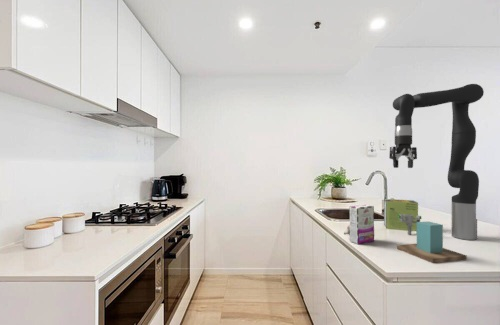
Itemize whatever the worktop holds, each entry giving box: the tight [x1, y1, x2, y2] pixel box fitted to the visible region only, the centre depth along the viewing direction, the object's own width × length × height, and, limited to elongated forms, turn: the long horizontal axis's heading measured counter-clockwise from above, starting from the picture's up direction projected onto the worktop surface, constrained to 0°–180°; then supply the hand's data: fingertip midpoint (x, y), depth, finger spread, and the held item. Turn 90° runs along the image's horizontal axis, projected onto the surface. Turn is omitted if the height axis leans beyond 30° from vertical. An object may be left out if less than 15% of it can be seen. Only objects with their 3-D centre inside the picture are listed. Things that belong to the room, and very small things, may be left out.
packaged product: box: [343, 224, 350, 236], centre depth 134 cm, size 18×5×10 cm
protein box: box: [383, 198, 419, 232], centre depth 143 cm, size 10×15×16 cm
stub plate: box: [396, 243, 468, 264], centre depth 101 cm, size 16×16×4 cm
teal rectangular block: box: [416, 221, 444, 253], centre depth 101 cm, size 6×6×11 cm
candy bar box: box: [349, 204, 375, 245], centre depth 117 cm, size 11×5×16 cm, turn 117°
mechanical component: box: [398, 214, 422, 236], centre depth 129 cm, size 3×10×10 cm, turn 79°
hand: (403, 167), depth 126 cm, fingers open, 8 cm apart
